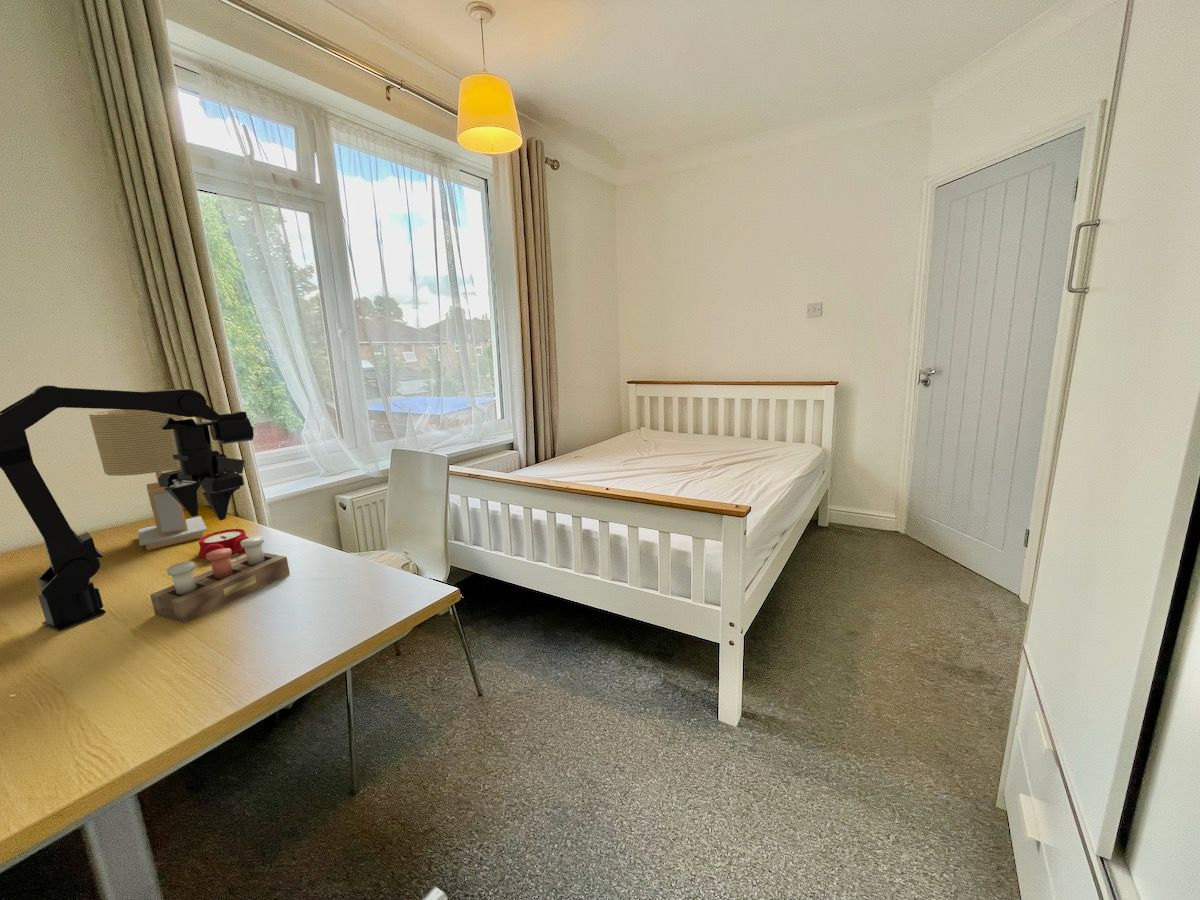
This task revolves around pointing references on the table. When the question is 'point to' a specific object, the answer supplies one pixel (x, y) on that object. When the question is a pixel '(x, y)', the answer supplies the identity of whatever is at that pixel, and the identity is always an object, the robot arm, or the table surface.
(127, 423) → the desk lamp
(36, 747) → the table surface
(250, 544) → the right plug
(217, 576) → the red plug
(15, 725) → the table surface
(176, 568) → the left plug
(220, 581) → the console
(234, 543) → the alarm clock
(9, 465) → the robot arm
